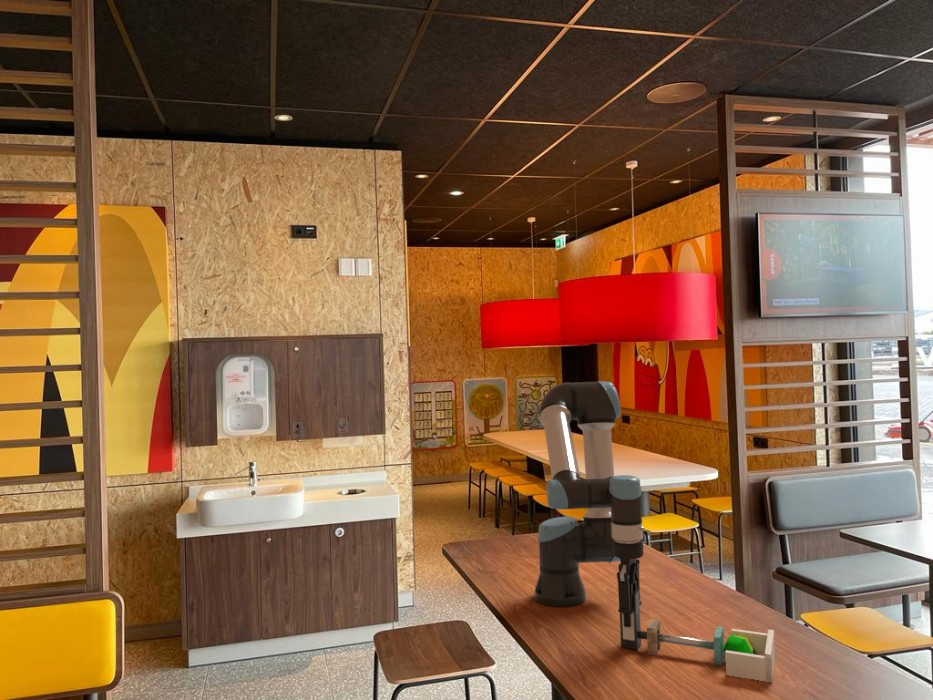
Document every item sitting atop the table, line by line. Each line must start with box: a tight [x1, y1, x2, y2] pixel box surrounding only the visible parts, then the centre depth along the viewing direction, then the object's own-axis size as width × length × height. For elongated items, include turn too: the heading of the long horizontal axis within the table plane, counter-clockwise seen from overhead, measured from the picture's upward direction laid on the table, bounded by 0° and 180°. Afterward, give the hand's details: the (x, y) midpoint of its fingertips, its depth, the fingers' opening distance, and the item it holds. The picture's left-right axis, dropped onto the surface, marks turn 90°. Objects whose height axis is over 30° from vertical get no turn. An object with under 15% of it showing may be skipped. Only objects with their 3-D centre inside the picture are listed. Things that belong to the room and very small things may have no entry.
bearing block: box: [646, 619, 662, 656], centre depth 160 cm, size 2×6×6 cm, turn 153°
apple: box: [723, 634, 757, 655], centre depth 153 cm, size 7×6×9 cm
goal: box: [724, 628, 776, 684], centre depth 150 cm, size 9×14×6 cm, turn 153°
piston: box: [619, 590, 725, 666], centre depth 158 cm, size 23×7×13 cm, turn 63°
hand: (631, 635), depth 163 cm, fingers closed on piston, 4 cm apart
